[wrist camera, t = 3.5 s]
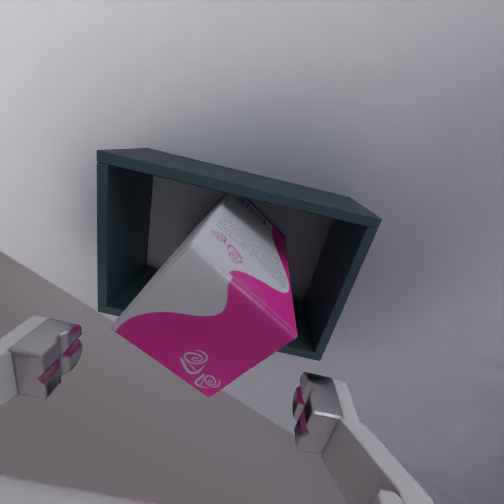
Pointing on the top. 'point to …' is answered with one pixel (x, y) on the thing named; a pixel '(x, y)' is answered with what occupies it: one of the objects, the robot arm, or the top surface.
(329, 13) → the top surface
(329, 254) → the case
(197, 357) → the supplement box
